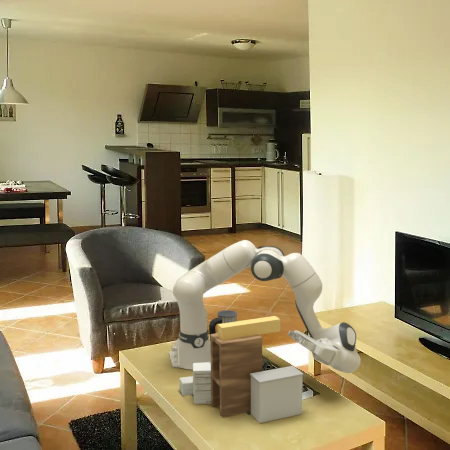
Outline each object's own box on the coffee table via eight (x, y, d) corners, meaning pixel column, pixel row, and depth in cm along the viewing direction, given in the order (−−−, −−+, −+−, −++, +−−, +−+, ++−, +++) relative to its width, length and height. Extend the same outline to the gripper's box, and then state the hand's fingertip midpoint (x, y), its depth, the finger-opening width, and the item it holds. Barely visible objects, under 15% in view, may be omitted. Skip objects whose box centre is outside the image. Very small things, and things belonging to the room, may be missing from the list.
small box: (197, 394, 217) (197, 381, 216) (182, 396, 215) (182, 383, 215) (194, 387, 222) (193, 375, 222) (179, 389, 221) (178, 377, 220)
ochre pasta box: (217, 336, 202) (217, 324, 201) (275, 327, 210) (275, 315, 210) (222, 340, 198) (221, 327, 198) (280, 331, 207) (280, 319, 206)
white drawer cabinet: (193, 395, 216) (192, 362, 214) (213, 394, 217) (213, 361, 215) (193, 404, 209) (192, 370, 207) (214, 403, 209) (213, 370, 207)
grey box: (249, 413, 202) (249, 373, 200) (292, 404, 208) (292, 365, 206) (259, 423, 195) (259, 382, 193) (302, 413, 202) (303, 373, 199)
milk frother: (225, 339, 272) (224, 308, 269) (253, 346, 262) (253, 314, 260) (206, 349, 260) (205, 316, 258) (235, 357, 251) (235, 323, 249)
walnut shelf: (211, 404, 209) (210, 334, 204) (249, 397, 214) (249, 328, 210) (222, 417, 200) (221, 344, 195) (261, 409, 205) (262, 337, 201)
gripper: (313, 333, 227) (285, 320, 222) (343, 352, 209) (314, 338, 203) (305, 348, 227) (278, 335, 221) (335, 368, 209) (306, 355, 203)
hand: (295, 337), depth 212 cm, fingers open, 8 cm apart
